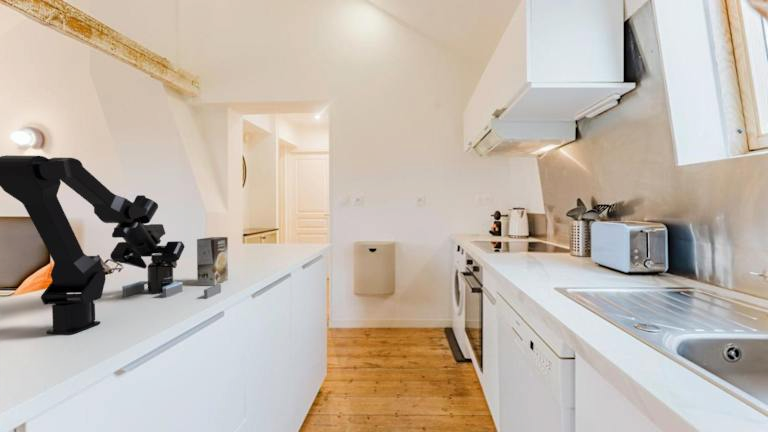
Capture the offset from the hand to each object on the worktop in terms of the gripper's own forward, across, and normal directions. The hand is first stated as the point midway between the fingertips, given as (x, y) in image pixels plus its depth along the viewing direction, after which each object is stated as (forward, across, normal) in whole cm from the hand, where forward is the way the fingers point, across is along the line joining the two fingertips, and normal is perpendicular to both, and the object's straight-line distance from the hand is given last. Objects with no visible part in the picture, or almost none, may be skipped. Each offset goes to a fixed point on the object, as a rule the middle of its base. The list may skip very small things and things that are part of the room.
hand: (160, 267), depth 105 cm
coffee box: (+13, -12, -2) cm, 18 cm away
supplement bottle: (+6, 0, +6) cm, 8 cm away
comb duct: (+3, -6, +8) cm, 11 cm away
